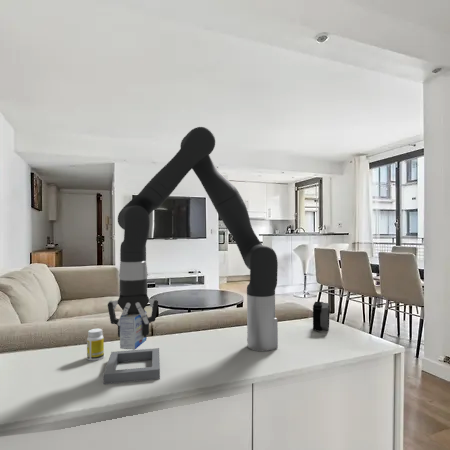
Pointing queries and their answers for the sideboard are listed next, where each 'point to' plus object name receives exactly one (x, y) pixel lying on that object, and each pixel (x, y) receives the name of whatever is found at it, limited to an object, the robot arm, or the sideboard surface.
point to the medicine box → (131, 331)
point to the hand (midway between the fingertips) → (133, 337)
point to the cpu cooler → (321, 316)
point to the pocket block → (137, 373)
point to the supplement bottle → (95, 345)
